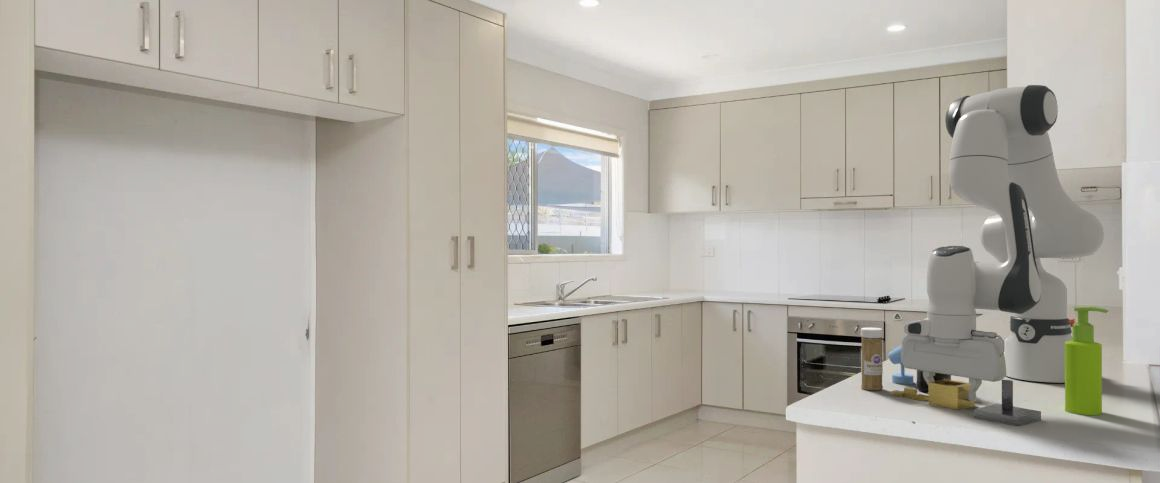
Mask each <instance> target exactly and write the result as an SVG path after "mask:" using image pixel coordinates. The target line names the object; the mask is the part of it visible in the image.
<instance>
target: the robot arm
mask: <svg viewBox="0 0 1160 483" xmlns="http://www.w3.org/2000/svg"><path fill="white" fill-rule="evenodd" d="M1058 107H1059V105H1058V101H1057V97H1056V94H1055V93H1054V91H1053V90H1052V89H1050V88H1049V87H1048V86H1046V85H1042V84H1040V85H1039V84H1029V85H1026V86H1018V87H1017V86H1015V87H1013V86H1012V87H1003V88H997V89H995V90H992V91H991V90H990V91H986V92H981V93H978V94H974V95H964V96H963V97H960V98H957V99H955V100H953V101H952V103H951V104H950V105H949V106H948V108H947V110H946V112H945V127H946V131H947V133H948V135H949V136H950V137H951V138H952V141H951V146H950V150H949V161H948V183H949V186H950V188H951V190H952V191H953V192H954V194H955V195H956V196H957V197H959V198H960V199H961V200H963V201H965V202H967V203H970V204H972V205H974V206H976V207H977V206H978V207H980V208H984V209H985V210H990V211H992V212H994V213H996V214H995V215H990V216H989V217H987V218H986V219H985V220H984V222H983V223H982V225H981V228H980V233H979V238H980V243H981V245H982V247H983V248H984V249H985V251H986V252H987V253H988V254H989V255H991V256H993V257H994V259H996V260H997V262H981V261H975V259H974V255H973V251H972V249H971V248H970V247H967V246H964V245H963V246H962V245H948V246H941V247H937V248H935V249H933V250H931V252H930V255H929V258H928V265H927V271H926V293H927V296H928V306H927V309H926V318H922V319H919V320H915V321H911V322H906V323H904V325H903V332H904V334H905V335H904V336H903V338H902V341H901V345H902V347H901V362H902V364H903V366H904V369H909V370H916V371H917V370H921V371H923V377H924V379H925V381H926V383H927V384H928V392H929V382H934V381H935V380H934V378H933V376H935V373H941V374H947V375H951V376H953V377H960V378H966V379H967V378H968V383H970V384H972V385H971V387H970V389H969V390H968V391H964V400H967V401H977V396H976V395H977V391H978V390H979V388H980V386H982V383H983V381H986V382H994V383H995V382H1002V380H1005V378H1006V377H1009V378H1012V379H1017V380H1024V381H1030V382H1039V383H1053V384H1054V383H1055V384H1056V383H1057V384H1058V383H1062V384H1063V383H1064V384H1065V342H1067V341H1073V335H1072V334H1073V330H1072V328H1073V324H1075V323H1077V321H1076V319H1075V318H1069V317H1068V290H1067V286H1066V284H1065V283H1064V282H1063V281H1062V279H1060V278H1059V277H1057V276H1055V275H1054V274H1051V273H1049V272H1047V271H1046V269H1044V267H1043V265H1042V262H1041V259H1067V260H1068V259H1076V258H1084V257H1089V256H1093V255H1095V253H1097V251H1098V250H1099V249H1100V248H1101V246H1102V244H1103V241H1104V237H1105V233H1104V232H1105V231H1104V227H1103V225H1102V222H1101V221H1100V220H1099V218H1097V216H1096V215H1094V214H1093V213H1091V212H1089V211H1087V210H1086V209H1084V208H1082V207H1081V206H1079V205H1078V204H1077V203H1076V202H1075V201H1074V200H1072V199H1071V197H1070V196H1069V195H1068V194H1067V192H1066V191H1065V189H1064V188H1063V186H1062V184H1061V181H1060V179H1059V174H1058V172H1057V168H1056V167H1057V166H1056V163H1055V158H1054V152H1053V148H1052V142H1051V139H1050V135H1049V133H1048V132H1049V131H1050V130H1051V128H1052V127H1053V126H1054V125H1055V123H1056V122H1057V120H1058V112H1059V108H1058ZM977 310H986V311H987V310H989V311H1001V312H1005V313H1009V314H1012V315H1011V316H1010V318H1009V319H1010V321H1009V331H1010V332H1011V333H1010V334H1009V336H1008V337H1006V338H1005V340H1004V339H1003V337H1002V336H1000V335H999V334H997V332H994V331H983V330H977ZM928 392H927V393H928Z"/></svg>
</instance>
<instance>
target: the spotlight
mask: <svg viewBox="0 0 1160 483" xmlns="http://www.w3.org/2000/svg"><path fill="white" fill-rule="evenodd" d="M901 347H902V344H901V345H899V346H898V347H896V348H894V349H892V350H891V351H889V352H888V358H889V361H890V362H891V364H894V365H898V364H899V365H900V373H893V374H892V375H891V376H892V377H891V381H892V383H893V384H897V385H913V384H914V375H913V374H910V373H905V369H906V368H905V367H904V366H903V364H902V362H901Z"/></svg>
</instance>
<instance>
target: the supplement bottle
mask: <svg viewBox="0 0 1160 483" xmlns="http://www.w3.org/2000/svg"><path fill="white" fill-rule="evenodd" d="M933 378H934V380H935V381H939V380H944V379H948V380H952V375H947V374H941V373H935V376H933ZM916 389H917V390H918V391H920V392H922V393H923V392H924V393H928V394H929V392H928V384H927V383H926V381H925V379H924V377H923V371H921V370H916Z"/></svg>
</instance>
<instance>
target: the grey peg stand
mask: <svg viewBox="0 0 1160 483" xmlns="http://www.w3.org/2000/svg"><path fill="white" fill-rule="evenodd" d="M973 413H974V415H973V417H974V418H976V419H982V420H986V421H992V422H996V423H1000V424H1007V425H1011V424H1012V426H1016V427H1017V426H1018V427H1020V426H1023V424H1024V425H1027V424H1031V423H1033V422H1036V421H1041V420H1042V411H1041V410H1037V409H1036V410H1034V409H1029V408H1023V407H1019V406H1014V380H1012V379H1003V380H1001V403H994V404H991V405H986V406H982V407H978V408H974V411H973ZM1019 425H1020V426H1019Z"/></svg>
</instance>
